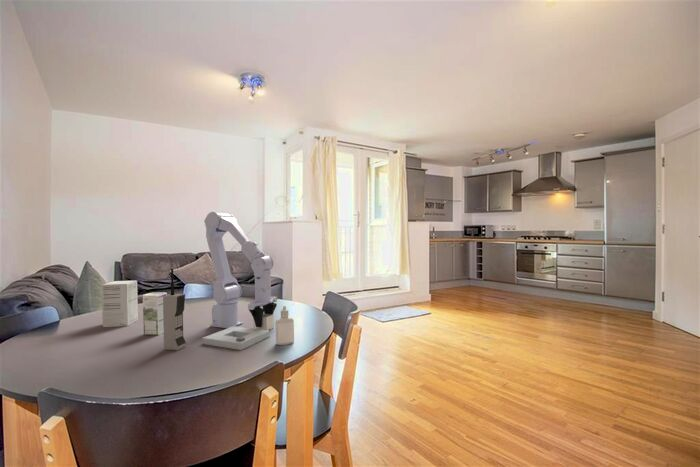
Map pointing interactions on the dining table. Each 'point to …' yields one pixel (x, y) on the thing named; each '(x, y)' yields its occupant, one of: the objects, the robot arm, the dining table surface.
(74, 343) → the dining table surface
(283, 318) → the eye dropper bottle
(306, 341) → the dining table surface
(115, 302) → the supplement box
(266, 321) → the plug block
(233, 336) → the socket plate
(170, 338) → the vintage mobile phone
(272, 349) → the dining table surface
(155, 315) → the syrup box
